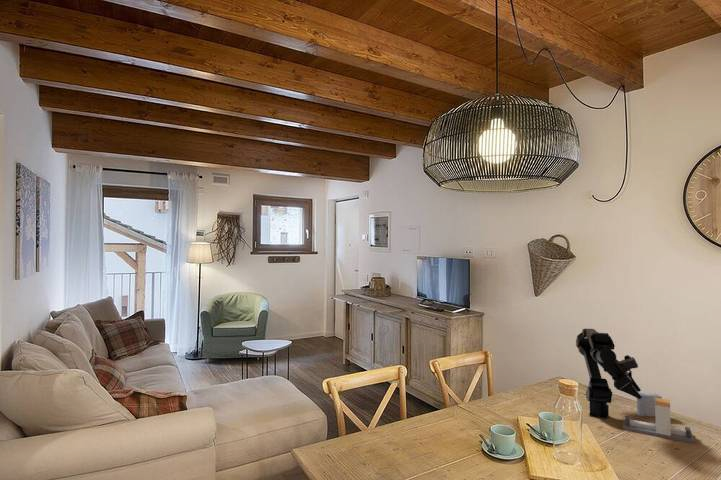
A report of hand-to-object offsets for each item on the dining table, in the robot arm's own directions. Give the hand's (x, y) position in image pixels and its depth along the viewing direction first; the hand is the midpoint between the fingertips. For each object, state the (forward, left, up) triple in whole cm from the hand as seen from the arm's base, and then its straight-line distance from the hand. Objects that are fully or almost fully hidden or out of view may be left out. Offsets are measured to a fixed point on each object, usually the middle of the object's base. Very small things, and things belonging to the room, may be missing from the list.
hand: (640, 394), depth 163 cm
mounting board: (+5, 0, -13) cm, 14 cm away
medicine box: (+3, +18, -14) cm, 23 cm away
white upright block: (+7, 0, -12) cm, 14 cm away
